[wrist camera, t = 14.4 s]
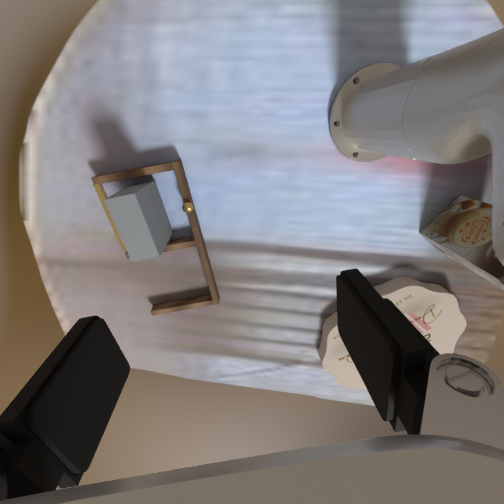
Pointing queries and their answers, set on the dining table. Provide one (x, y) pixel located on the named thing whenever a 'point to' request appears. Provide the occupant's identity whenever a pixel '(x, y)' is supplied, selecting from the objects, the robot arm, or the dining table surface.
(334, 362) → the decorative plaque
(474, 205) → the coffee box
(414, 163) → the dining table surface
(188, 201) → the frame
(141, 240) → the pale gray rectangular prism
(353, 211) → the dining table surface
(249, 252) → the dining table surface
